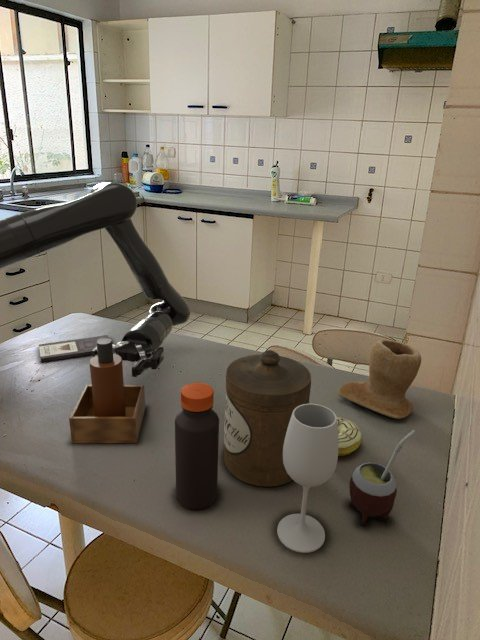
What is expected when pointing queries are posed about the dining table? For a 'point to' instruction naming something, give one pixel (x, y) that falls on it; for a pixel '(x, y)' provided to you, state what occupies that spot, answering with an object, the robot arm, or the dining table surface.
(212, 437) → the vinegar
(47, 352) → the chocolate bar
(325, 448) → the wineglass
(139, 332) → the robot arm
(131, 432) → the wooden box
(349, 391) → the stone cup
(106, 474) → the dining table surface
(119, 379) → the sauce bottle
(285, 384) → the wooden container
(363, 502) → the mate gourd
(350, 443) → the decorated donut
